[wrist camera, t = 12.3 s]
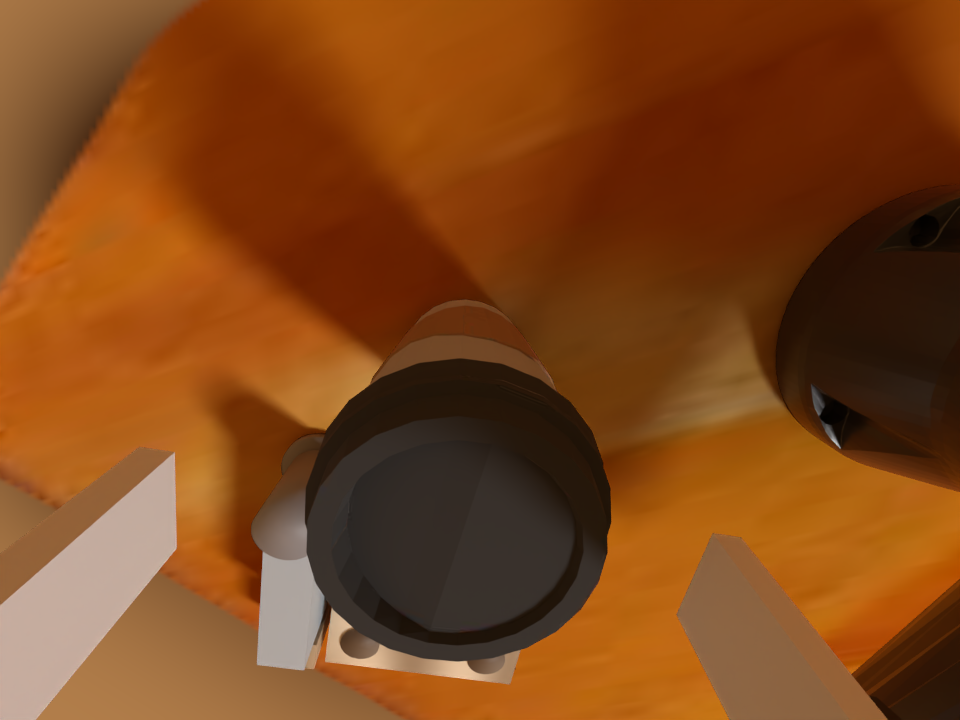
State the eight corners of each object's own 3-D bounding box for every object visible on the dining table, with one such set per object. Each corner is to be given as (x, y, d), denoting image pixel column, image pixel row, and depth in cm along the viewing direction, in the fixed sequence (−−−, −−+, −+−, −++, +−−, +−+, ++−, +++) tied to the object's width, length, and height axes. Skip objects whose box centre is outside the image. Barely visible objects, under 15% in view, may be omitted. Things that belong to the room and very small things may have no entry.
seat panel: (559, 472, 28) (570, 505, 25) (507, 649, 33) (510, 695, 30) (286, 427, 26) (263, 457, 23) (273, 619, 31) (252, 664, 28)
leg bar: (291, 445, 26) (252, 500, 21) (348, 454, 26) (322, 510, 22) (280, 602, 30) (244, 678, 25) (330, 608, 30) (304, 684, 25)
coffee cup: (373, 402, 26) (261, 644, 12) (407, 259, 24) (313, 349, 9) (514, 437, 27) (563, 699, 13) (561, 302, 24) (687, 445, 10)
